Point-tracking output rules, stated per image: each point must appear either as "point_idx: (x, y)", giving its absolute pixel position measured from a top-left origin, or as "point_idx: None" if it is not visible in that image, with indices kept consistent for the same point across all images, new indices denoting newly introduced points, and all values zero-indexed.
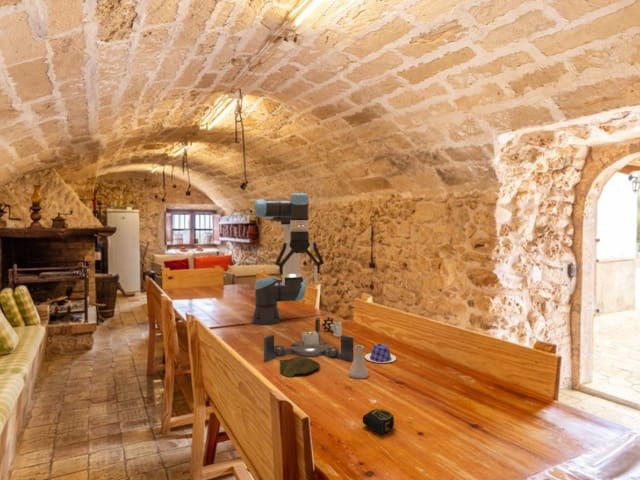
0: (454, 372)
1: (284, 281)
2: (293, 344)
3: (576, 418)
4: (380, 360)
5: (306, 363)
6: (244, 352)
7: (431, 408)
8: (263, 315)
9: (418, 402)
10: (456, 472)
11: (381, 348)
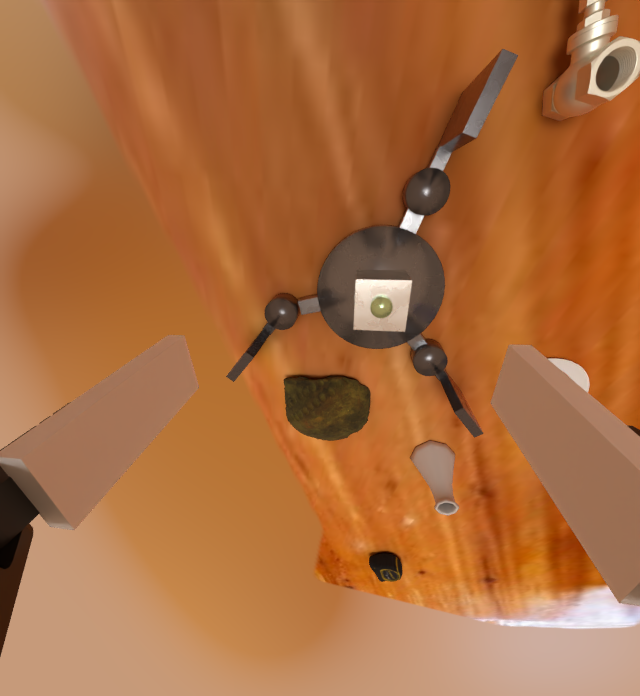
0: None
1: (190, 395)
2: (328, 271)
3: None
4: None
5: (335, 434)
6: (190, 267)
7: (471, 550)
8: None
9: (466, 538)
10: (415, 603)
11: None
